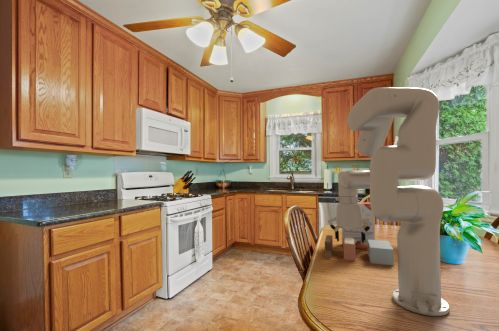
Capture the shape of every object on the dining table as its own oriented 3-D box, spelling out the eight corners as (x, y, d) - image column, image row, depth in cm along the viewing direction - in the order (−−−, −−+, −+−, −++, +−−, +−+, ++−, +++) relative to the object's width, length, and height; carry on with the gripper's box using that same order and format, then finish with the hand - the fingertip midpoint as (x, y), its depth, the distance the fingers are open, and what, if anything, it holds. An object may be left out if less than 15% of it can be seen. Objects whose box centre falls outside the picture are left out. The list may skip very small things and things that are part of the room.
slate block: (394, 265, 93) (393, 249, 93) (370, 262, 96) (370, 247, 96) (388, 255, 104) (388, 241, 104) (367, 253, 107) (367, 239, 107)
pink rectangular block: (355, 260, 99) (355, 244, 99) (344, 259, 100) (343, 243, 100) (355, 253, 108) (354, 238, 108) (344, 252, 110) (344, 237, 110)
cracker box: (342, 247, 116) (341, 202, 117) (341, 243, 122) (340, 201, 122) (375, 249, 112) (374, 203, 112) (373, 245, 118) (372, 201, 118)
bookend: (331, 258, 101) (330, 242, 101) (324, 258, 102) (324, 242, 102) (332, 249, 112) (332, 235, 113) (327, 249, 113) (326, 235, 113)
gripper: (326, 200, 104) (328, 242, 103) (371, 201, 98) (374, 245, 97) (327, 199, 111) (329, 238, 110) (370, 200, 105) (372, 240, 104)
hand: (350, 241), depth 104 cm, fingers open, 9 cm apart
